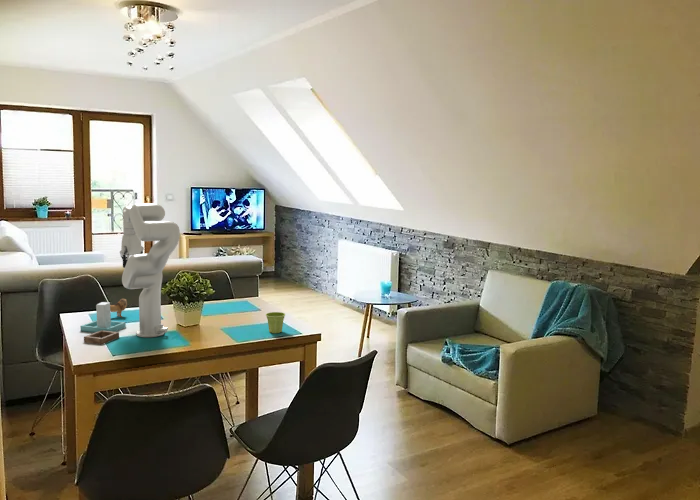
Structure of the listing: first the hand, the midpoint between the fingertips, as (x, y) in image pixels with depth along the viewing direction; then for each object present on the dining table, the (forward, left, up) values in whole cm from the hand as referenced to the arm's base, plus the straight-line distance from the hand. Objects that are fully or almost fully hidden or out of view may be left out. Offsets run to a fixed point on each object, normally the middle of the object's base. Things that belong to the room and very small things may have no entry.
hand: (132, 266), depth 295 cm
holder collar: (-6, +31, -28) cm, 42 cm away
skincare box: (+5, +16, -28) cm, 33 cm away
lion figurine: (+16, -6, -29) cm, 33 cm away
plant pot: (-72, -10, -28) cm, 78 cm away
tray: (+5, +16, -28) cm, 33 cm away
